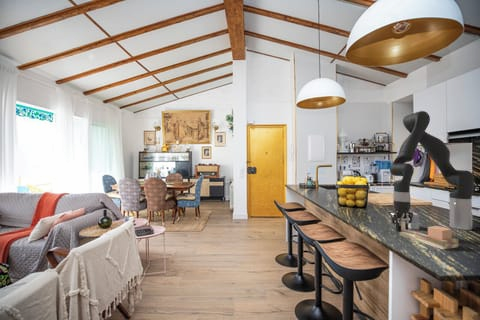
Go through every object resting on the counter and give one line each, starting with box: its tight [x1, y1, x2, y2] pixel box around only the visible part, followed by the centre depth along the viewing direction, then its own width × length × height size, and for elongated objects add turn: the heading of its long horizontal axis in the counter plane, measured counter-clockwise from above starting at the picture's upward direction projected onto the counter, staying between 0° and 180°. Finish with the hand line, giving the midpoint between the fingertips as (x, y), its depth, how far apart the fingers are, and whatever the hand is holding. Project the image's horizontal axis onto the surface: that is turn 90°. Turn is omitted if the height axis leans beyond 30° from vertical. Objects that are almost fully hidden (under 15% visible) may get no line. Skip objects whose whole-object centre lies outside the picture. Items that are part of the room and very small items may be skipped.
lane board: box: [398, 230, 460, 251], centre depth 110 cm, size 10×20×4 cm, turn 16°
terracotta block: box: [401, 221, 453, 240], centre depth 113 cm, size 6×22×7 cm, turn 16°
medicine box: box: [408, 211, 420, 231], centre depth 132 cm, size 8×4×9 cm, turn 168°
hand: (402, 231), depth 122 cm, fingers open, 4 cm apart
